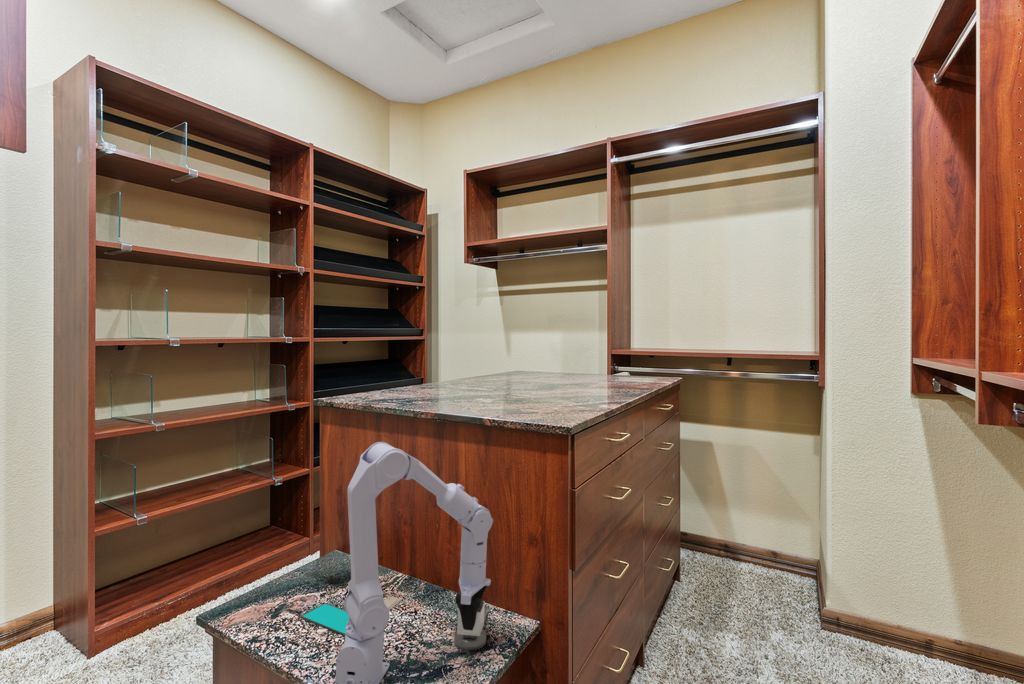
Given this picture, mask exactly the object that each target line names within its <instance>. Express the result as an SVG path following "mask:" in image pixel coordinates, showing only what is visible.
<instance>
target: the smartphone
mask: <svg viewBox="0 0 1024 684" xmlns="http://www.w3.org/2000/svg"><path fill="white" fill-rule="evenodd" d="M324 603H325V604H323V603H322V604H320V605H318V606H316V607H313V609H310V610H308V611H307V612H304V613H303V614H300V617H299V618H300V619H301V618H302V619H301V620H303V619H305V620H304V621H306V620H307V621H306V622H308V621H310V622H309V623H311V622H312V623H311V624H313V623H314V625H315V624H316V625H315V626H318V627H321V628H322V629H323V630H327V631H329V632H332V633H334V634H336V635H339V636H342V637H344V638H345V632H346V625H347V622H348V620H349V615H348V614H347V613H346V611H345V609H343V608H340V607H337V606H334V605H332V604H329V603H327V602H324Z"/></svg>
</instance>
